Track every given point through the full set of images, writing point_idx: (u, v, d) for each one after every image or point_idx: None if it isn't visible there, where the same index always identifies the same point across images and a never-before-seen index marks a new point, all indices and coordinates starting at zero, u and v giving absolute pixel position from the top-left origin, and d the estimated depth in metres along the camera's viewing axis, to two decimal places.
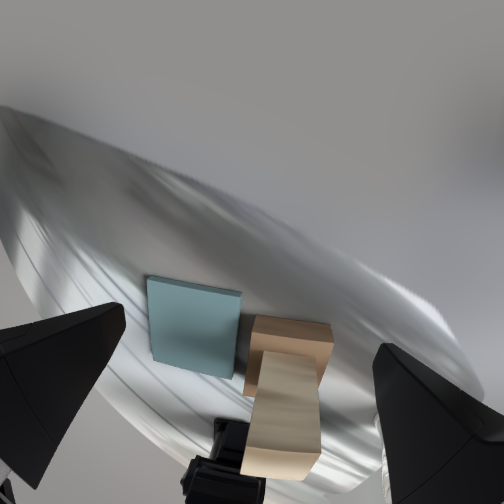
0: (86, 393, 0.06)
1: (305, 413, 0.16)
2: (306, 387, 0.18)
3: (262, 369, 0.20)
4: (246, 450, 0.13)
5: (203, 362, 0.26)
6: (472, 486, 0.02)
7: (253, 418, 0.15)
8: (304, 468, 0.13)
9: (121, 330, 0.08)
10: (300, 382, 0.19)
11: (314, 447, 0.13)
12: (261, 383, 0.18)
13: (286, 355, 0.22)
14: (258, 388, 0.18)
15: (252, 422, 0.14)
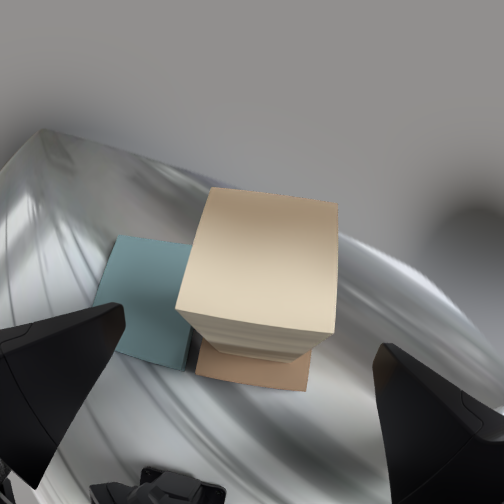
0: (86, 393, 0.06)
1: None
2: None
3: None
4: (209, 198, 0.09)
5: (147, 339, 0.18)
6: (472, 485, 0.02)
7: None
8: (323, 260, 0.08)
9: (121, 330, 0.08)
10: None
11: None
12: None
13: None
14: None
15: None
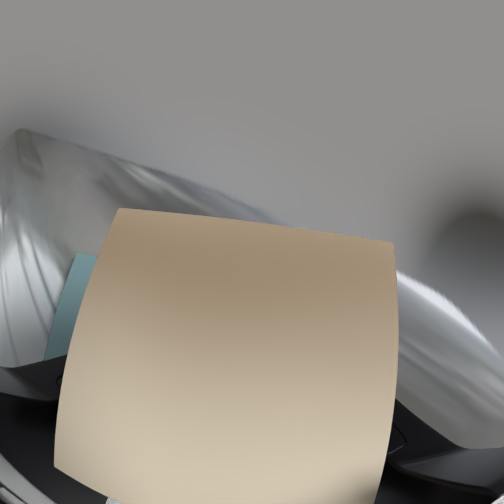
0: None
1: None
2: None
3: None
4: (110, 234, 0.04)
5: None
6: None
7: None
8: (365, 397, 0.03)
9: None
10: None
11: None
12: None
13: None
14: None
15: None
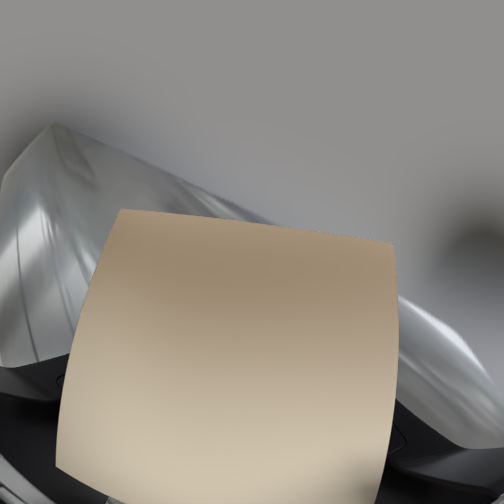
0: None
1: None
2: None
3: None
4: (111, 235, 0.04)
5: None
6: None
7: None
8: (365, 397, 0.03)
9: None
10: None
11: None
12: None
13: None
14: None
15: None
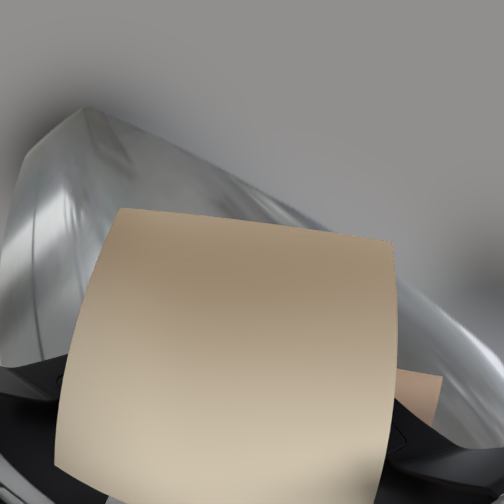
0: None
1: None
2: None
3: None
4: (111, 234, 0.04)
5: None
6: None
7: None
8: (364, 396, 0.03)
9: None
10: None
11: None
12: None
13: None
14: None
15: None
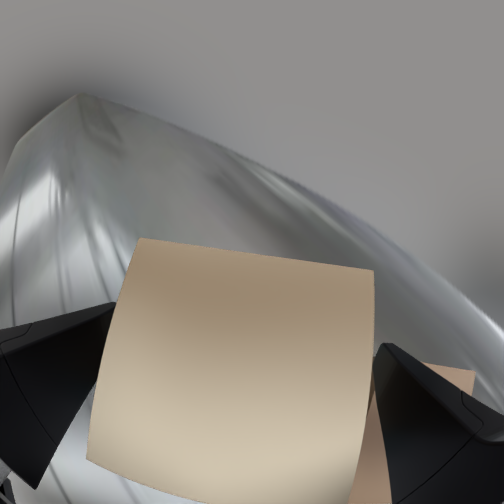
0: (86, 393, 0.06)
1: None
2: None
3: None
4: (133, 262, 0.05)
5: None
6: (472, 485, 0.02)
7: None
8: (343, 398, 0.04)
9: None
10: None
11: None
12: None
13: None
14: None
15: None
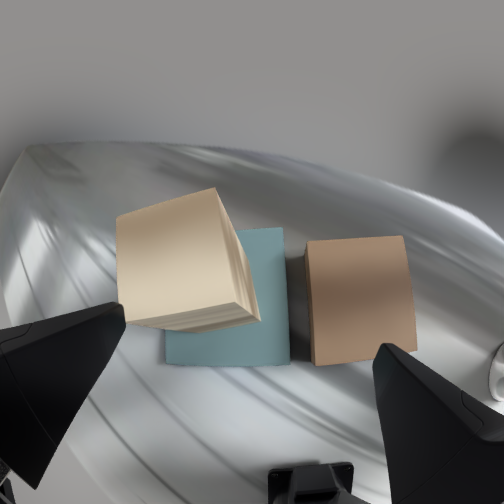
0: (86, 393, 0.06)
1: None
2: None
3: None
4: (117, 227, 0.10)
5: (244, 343, 0.18)
6: (472, 485, 0.02)
7: None
8: (211, 243, 0.10)
9: (121, 330, 0.08)
10: None
11: None
12: None
13: None
14: None
15: None
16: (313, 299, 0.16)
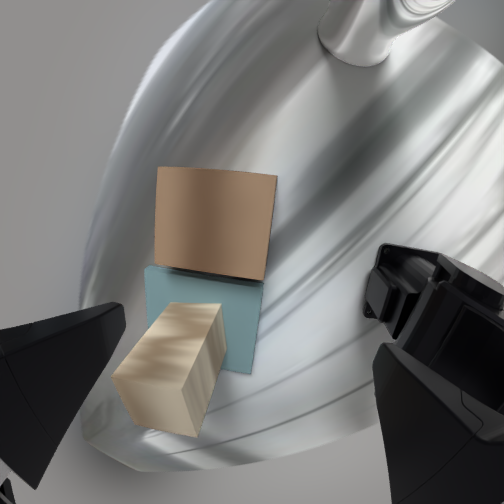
0: (86, 393, 0.06)
1: None
2: None
3: None
4: (141, 425, 0.14)
5: (238, 319, 0.22)
6: (472, 485, 0.02)
7: None
8: (146, 389, 0.12)
9: (121, 330, 0.08)
10: None
11: None
12: None
13: None
14: None
15: None
16: (204, 270, 0.19)
